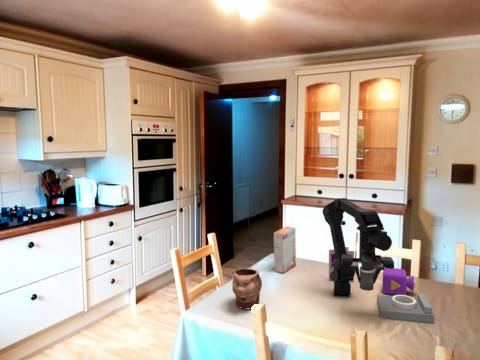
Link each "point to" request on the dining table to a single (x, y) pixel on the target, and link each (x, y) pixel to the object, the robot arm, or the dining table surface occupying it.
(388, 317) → the mount
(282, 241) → the cracker box
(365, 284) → the lens
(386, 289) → the toy camera
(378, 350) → the dining table surface
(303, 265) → the dining table surface
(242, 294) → the decorative planter
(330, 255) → the purple printed box
